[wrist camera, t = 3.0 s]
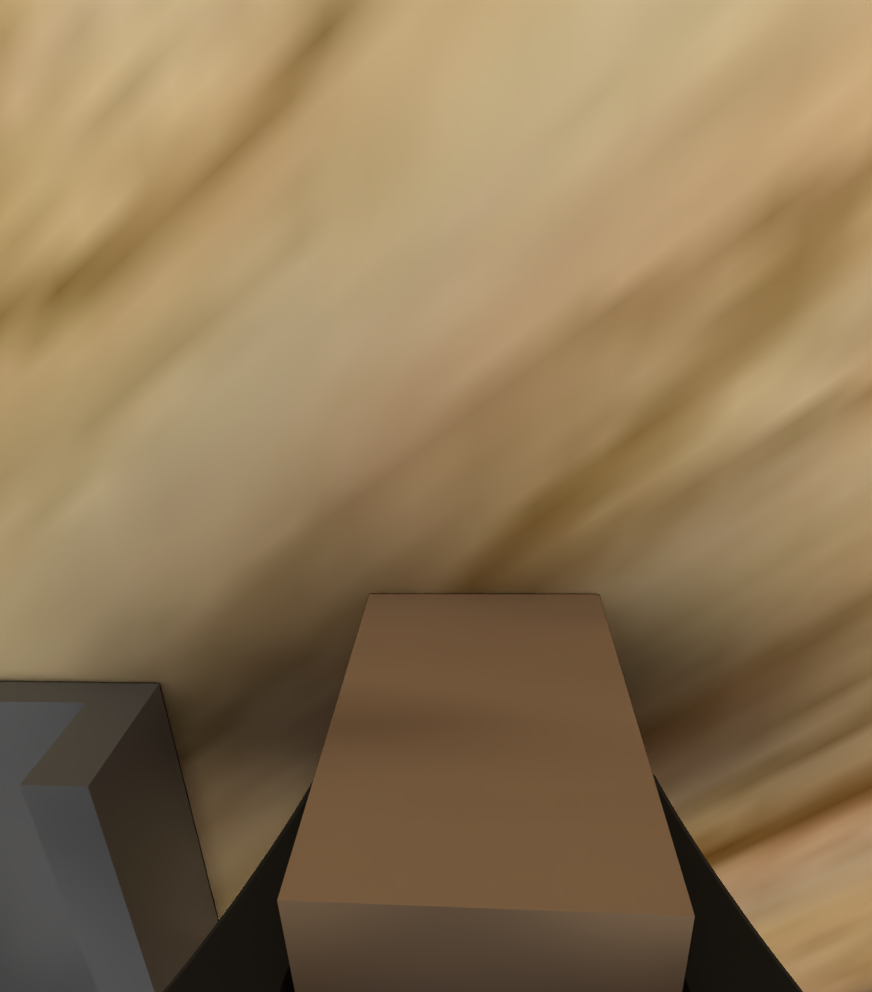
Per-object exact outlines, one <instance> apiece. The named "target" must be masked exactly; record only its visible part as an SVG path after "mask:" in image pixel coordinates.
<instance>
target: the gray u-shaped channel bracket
mask: <svg viewBox="0 0 872 992" xmlns="http://www.w3.org/2000/svg"><path fill="white" fill-rule="evenodd" d="M217 922H218V919H217V915H216V911H215V907H214V903H213V899H212V895H211V891H210V887H209V883H208V879H207V875H206V871H205V867H204V863H203V859H202V855H201V851H200V847H199V843H198V839H197V835H196V831H195V827H194V823H193V819H192V815H191V811H190V807H189V803H188V799H187V795H186V791H185V787H184V783H183V778H182V774H181V770H180V766H179V762H178V758H177V754H176V750H175V746H174V742H173V738H172V734H171V730H170V726H169V722H168V718H167V714H166V710H165V706H164V702H163V698H162V694H161V690H160V686H159V684H147V683H64V682H0V992H163V991H164V989H165V988H166V987H167V986H168V985H169V983H170V982H171V981H172V980H173V979H174V977H175V976H176V975H177V974H178V972H179V971H180V970H181V969H182V968H183V966H184V965H185V964H186V963H187V961H188V960H189V959H190V958H191V956H192V955H193V954H194V952H195V951H196V950H197V949H198V947H199V946H200V945H201V943H202V942H203V941H204V939H205V938H206V937H207V935H208V934H209V933H210V932H211V930H212V929H213V928H214V926H215V925H216V924H217Z"/></svg>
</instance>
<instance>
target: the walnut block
mask: <svg viewBox="0 0 872 992" xmlns="http://www.w3.org/2000/svg"><path fill="white" fill-rule="evenodd" d="M277 902H278V907H279V912H280V918H281V923H282V928H283V933H284V938H285V943H286V948H287V954H288V959H289V964H290V969H291V974H292V979H293V985H294V990H295V992H682V990H683V984H684V978H685V972H686V966H687V960H688V954H689V948H690V942H691V936H692V930H693V924H694V918H695V915H694V912H693V908H692V905H691V902H690V898H689V895H688V892H687V888H686V885H685V882H684V878H683V875H682V871H681V868H680V865H679V861H678V858H677V855H676V851H675V848H674V845H673V841H672V838H671V834H670V831H669V828H668V824H667V821H666V818H665V814H664V811H663V808H662V804H661V801H660V798H659V794H658V791H657V787H656V784H655V781H654V777H653V774H652V771H651V767H650V764H649V761H648V757H647V754H646V751H645V747H644V744H643V740H642V737H641V734H640V730H639V727H638V724H637V720H636V717H635V714H634V710H633V707H632V704H631V700H630V697H629V693H628V690H627V687H626V683H625V680H624V677H623V673H622V670H621V667H620V663H619V660H618V657H617V653H616V650H615V646H614V643H613V640H612V636H611V633H610V630H609V626H608V623H607V620H606V616H605V613H604V610H603V606H602V603H601V599H600V596H599V594H369V597H368V600H367V604H366V607H365V610H364V614H363V617H362V620H361V624H360V627H359V630H358V634H357V637H356V640H355V644H354V647H353V650H352V654H351V657H350V660H349V664H348V667H347V670H346V674H345V677H344V680H343V684H342V687H341V690H340V693H339V697H338V700H337V703H336V707H335V710H334V713H333V717H332V720H331V723H330V727H329V730H328V733H327V737H326V740H325V743H324V747H323V750H322V753H321V757H320V760H319V763H318V767H317V770H316V773H315V777H314V780H313V783H312V786H311V790H310V793H309V796H308V800H307V803H306V806H305V810H304V813H303V816H302V820H301V823H300V826H299V830H298V833H297V836H296V840H295V843H294V846H293V850H292V853H291V856H290V860H289V863H288V866H287V869H286V873H285V876H284V879H283V883H282V886H281V889H280V893H279V896H278V899H277Z"/></svg>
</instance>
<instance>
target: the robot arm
mask: <svg viewBox="0 0 872 992" xmlns="http://www.w3.org/2000/svg"><path fill="white" fill-rule="evenodd" d="M653 777H654V781H655V784H656V787H657V791H658V794H659V798H660V801H661V804H662V808H663V811H664V814H665V818H666V821H667V824H668V828H669V831H670V834H671V838H672V841H673V845H674V848H675V851H676V855H677V858H678V861H679V865H680V868H681V871H682V875H683V878H684V882H685V885H686V888H687V892H688V895H689V898H690V902H691V905H692V908H693V912H694V915H695V918H694V924H693V930H692V936H691V942H690V948H689V954H688V960H687V966H686V972H685V978H684V984H683V990H682V992H803V991H802V990H801V989H800V987H799V986H798V985H797V984H796V982H795V981H794V980H793V978H792V977H791V976H790V974H789V973H788V972H787V971H786V969H785V968H784V967H783V965H782V964H781V963H780V962H779V960H778V959H777V958H776V956H775V955H774V954H773V953H772V951H771V950H770V949H769V947H768V946H767V945H766V943H765V942H764V940H763V939H762V938H761V936H760V935H759V934H758V932H757V931H756V930H755V928H754V927H753V926H752V924H751V923H750V921H749V920H748V919H747V917H746V916H745V914H744V913H743V912H742V910H741V909H740V907H739V906H738V905H737V903H736V902H735V900H734V899H733V897H732V896H731V895H730V893H729V892H728V890H727V889H726V888H725V886H724V885H723V883H722V882H721V880H720V879H719V878H718V876H717V875H716V873H715V872H714V870H713V869H712V867H711V866H710V864H709V863H708V861H707V860H706V858H705V857H704V855H703V854H702V852H701V851H700V849H699V848H698V846H697V845H696V843H695V841H694V840H693V838H692V837H691V835H690V834H689V832H688V831H687V829H686V827H685V826H684V824H683V823H682V821H681V819H680V818H679V816H678V815H677V813H676V811H675V810H674V808H673V806H672V805H671V803H670V801H669V800H668V798H667V796H666V795H665V793H664V791H663V789H662V788H661V786H660V784H659V782H658V781H657V779H656V777H655V776H654V775H653ZM312 783H313V782H312ZM311 786H312V784H311V785H310V787H309V789H308V790H307V792H306V794H305V795H304V797H303V799H302V800H301V802H300V804H299V805H298V807H297V808H296V810H295V812H294V813H293V815H292V816H291V818H290V819H289V821H288V823H287V824H286V826H285V827H284V829H283V830H282V832H281V833H280V835H279V836H278V838H277V839H276V841H275V843H274V844H273V846H272V847H271V848H270V850H269V851H268V853H267V854H266V856H265V857H264V859H263V860H262V861H261V863H260V864H259V866H258V867H257V869H256V870H255V872H254V873H253V874H252V876H251V877H250V879H249V880H248V882H247V883H246V885H245V886H244V887H243V889H242V890H241V892H240V893H239V894H238V896H237V897H236V899H235V900H234V901H233V903H232V904H231V905H230V907H229V908H228V909H227V911H226V912H225V913H224V914H223V916H222V917H221V918H220V920H219V921H218V922H217V924H216V925H215V926H214V928H213V929H212V930H211V932H210V933H209V934H208V935H207V937H206V938H205V939H204V941H203V942H202V943H201V945H200V946H199V947H198V949H197V950H196V951H195V952H194V954H193V955H192V956H191V958H190V959H189V960H188V961H187V963H186V964H185V965H184V966H183V968H182V969H181V970H180V971H179V972H178V974H177V975H176V976H175V977H174V979H173V980H172V981H171V982H170V983H169V985H168V986H167V987H166V988H165V989H164V991H163V992H295V990H294V985H293V979H292V974H291V969H290V964H289V959H288V954H287V948H286V943H285V938H284V933H283V928H282V923H281V918H280V912H279V907H278V902H277V899H278V896H279V893H280V889H281V886H282V883H283V879H284V876H285V873H286V869H287V866H288V863H289V860H290V856H291V853H292V850H293V846H294V843H295V840H296V836H297V833H298V830H299V826H300V823H301V820H302V816H303V813H304V810H305V806H306V803H307V800H308V796H309V793H310V790H311Z"/></svg>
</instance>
